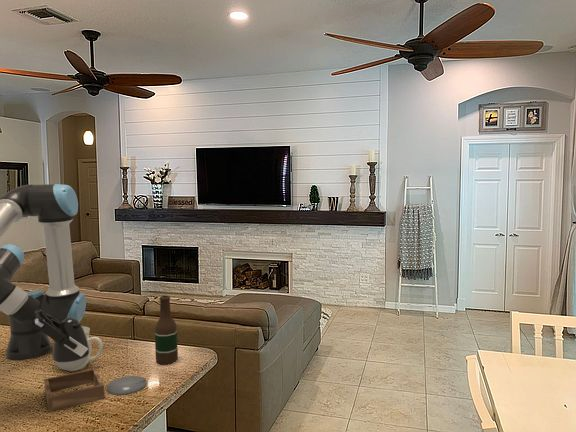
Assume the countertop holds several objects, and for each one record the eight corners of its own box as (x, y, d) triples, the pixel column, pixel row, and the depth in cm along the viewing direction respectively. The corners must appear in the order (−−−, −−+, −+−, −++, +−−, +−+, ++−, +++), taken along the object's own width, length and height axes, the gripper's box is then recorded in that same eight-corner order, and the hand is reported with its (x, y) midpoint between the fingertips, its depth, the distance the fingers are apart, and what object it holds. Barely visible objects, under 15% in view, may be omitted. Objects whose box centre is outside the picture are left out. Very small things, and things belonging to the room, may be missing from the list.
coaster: (103, 383, 148) (103, 381, 148) (141, 375, 154) (141, 372, 154) (110, 398, 137) (110, 396, 137) (150, 388, 144) (150, 386, 144)
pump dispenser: (66, 376, 132) (63, 325, 130) (46, 368, 137) (43, 319, 136) (97, 364, 141) (95, 316, 139) (77, 357, 146) (74, 310, 145)
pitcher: (96, 374, 155) (94, 334, 154) (44, 373, 156) (42, 334, 155) (110, 361, 166) (108, 324, 165) (61, 361, 167) (59, 324, 166)
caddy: (44, 391, 143) (44, 379, 142) (96, 379, 151) (95, 368, 150) (48, 411, 130) (48, 398, 130) (104, 397, 138) (104, 385, 138)
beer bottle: (182, 358, 168) (180, 294, 166) (168, 366, 160) (166, 300, 159) (165, 355, 171) (163, 292, 169) (151, 363, 164) (148, 297, 162)
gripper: (8, 306, 139) (68, 345, 148) (9, 327, 120) (78, 370, 130) (27, 286, 141) (85, 326, 151) (31, 304, 122) (97, 348, 132)
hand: (81, 346), depth 140 cm, fingers closed on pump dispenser, 10 cm apart
